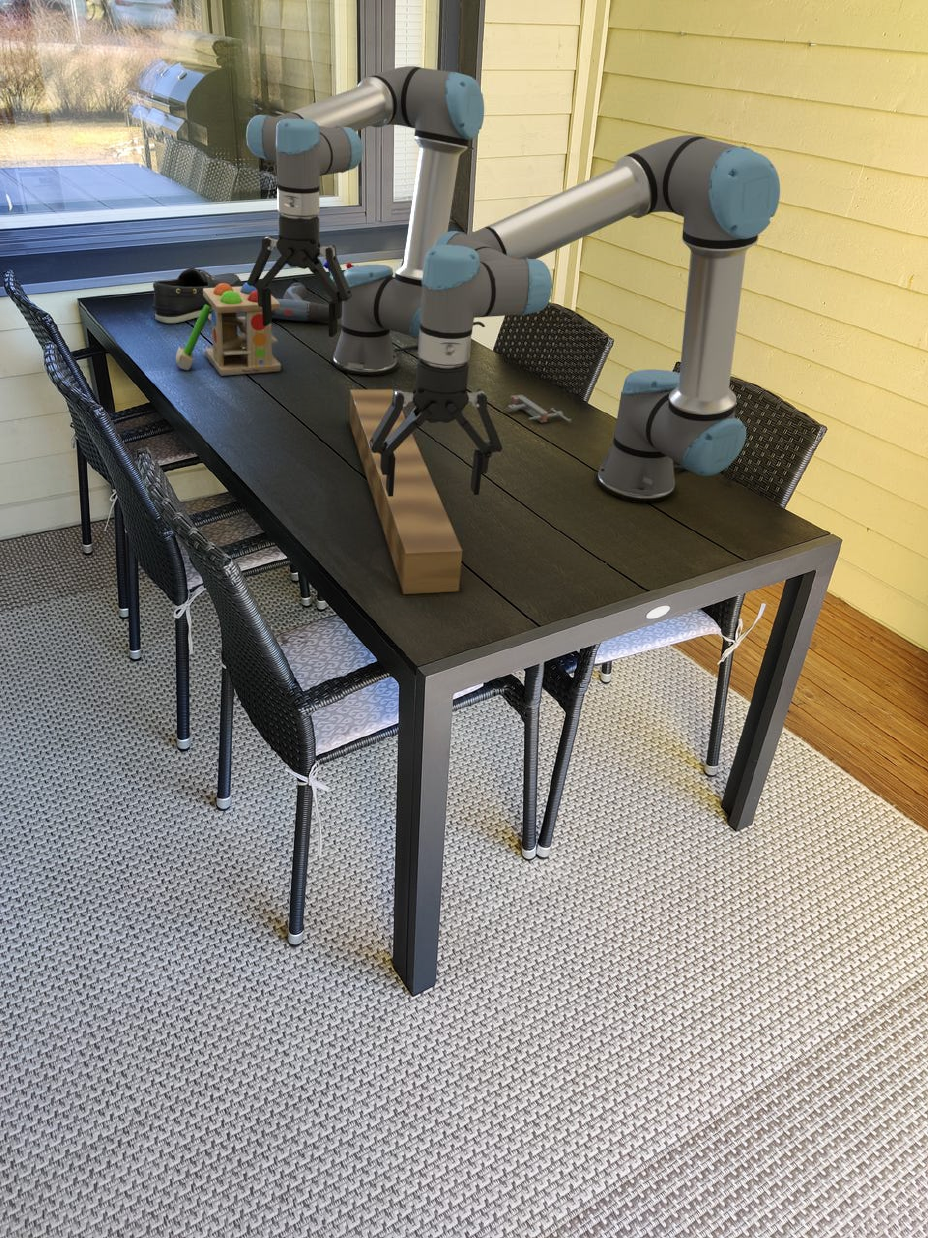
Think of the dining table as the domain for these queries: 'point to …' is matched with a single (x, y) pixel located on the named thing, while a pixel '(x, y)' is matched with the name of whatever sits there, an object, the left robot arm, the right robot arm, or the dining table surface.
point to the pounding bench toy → (234, 332)
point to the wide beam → (407, 503)
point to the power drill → (300, 306)
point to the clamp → (526, 405)
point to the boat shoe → (186, 294)
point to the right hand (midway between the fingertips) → (432, 492)
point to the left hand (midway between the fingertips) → (300, 329)
